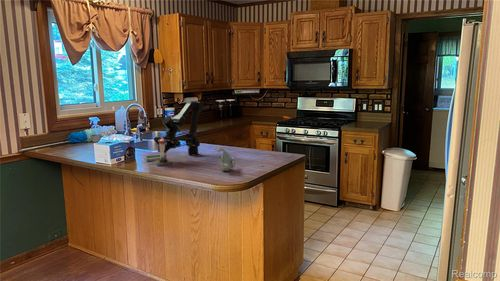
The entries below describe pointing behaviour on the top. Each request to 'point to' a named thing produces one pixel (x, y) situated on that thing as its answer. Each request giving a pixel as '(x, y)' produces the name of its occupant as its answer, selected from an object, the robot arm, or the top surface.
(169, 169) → the top surface
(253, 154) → the top surface
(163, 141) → the pin
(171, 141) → the robot arm
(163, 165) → the receiver socket
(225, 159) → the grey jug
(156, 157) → the tray
